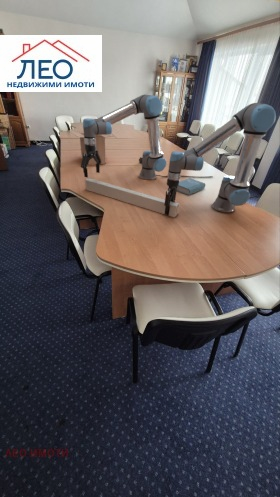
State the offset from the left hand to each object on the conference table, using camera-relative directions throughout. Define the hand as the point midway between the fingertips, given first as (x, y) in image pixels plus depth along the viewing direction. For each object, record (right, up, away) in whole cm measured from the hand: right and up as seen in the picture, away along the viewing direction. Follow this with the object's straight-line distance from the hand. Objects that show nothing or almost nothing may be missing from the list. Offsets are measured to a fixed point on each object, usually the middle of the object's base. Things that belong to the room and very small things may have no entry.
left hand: (92, 174), depth 166 cm
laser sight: (+46, +36, +74) cm, 94 cm away
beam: (+27, -21, -5) cm, 35 cm away
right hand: (+55, -32, -17) cm, 66 cm away
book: (+78, -5, +21) cm, 81 cm away
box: (-14, +38, +71) cm, 82 cm away
